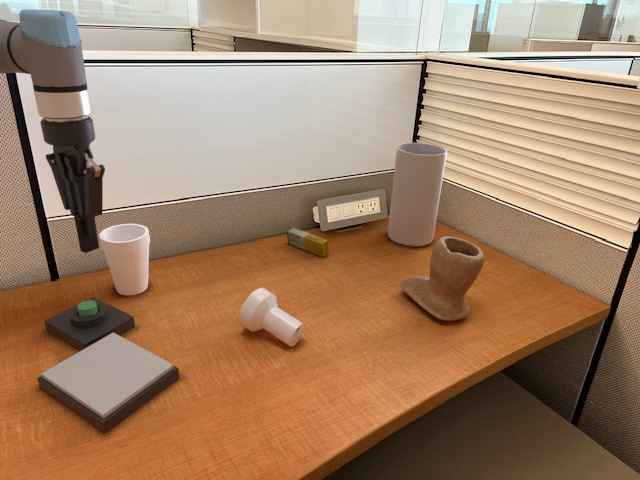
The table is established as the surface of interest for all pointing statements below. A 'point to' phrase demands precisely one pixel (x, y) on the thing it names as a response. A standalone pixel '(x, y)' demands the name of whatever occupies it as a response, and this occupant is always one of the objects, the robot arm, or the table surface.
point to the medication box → (307, 241)
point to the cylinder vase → (416, 193)
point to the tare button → (87, 308)
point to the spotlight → (269, 317)
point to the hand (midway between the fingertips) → (90, 249)
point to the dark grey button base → (89, 325)
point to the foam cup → (127, 256)
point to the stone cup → (447, 279)
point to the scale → (108, 380)
